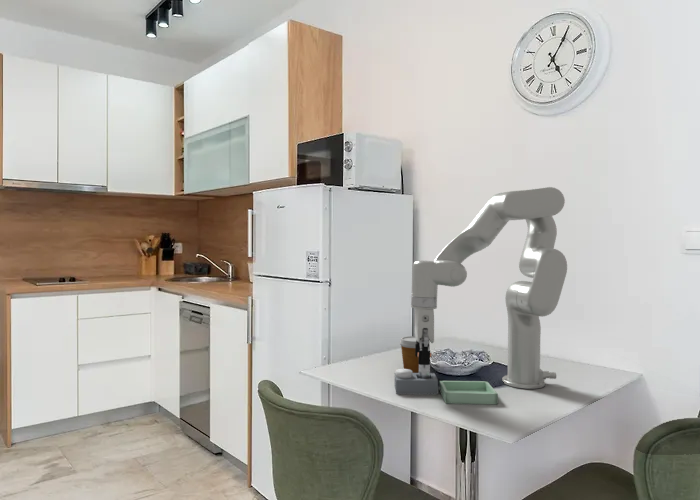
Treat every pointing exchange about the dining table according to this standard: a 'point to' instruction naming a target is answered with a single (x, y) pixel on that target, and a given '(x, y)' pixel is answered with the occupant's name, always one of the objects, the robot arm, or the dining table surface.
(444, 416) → the dining table surface
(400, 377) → the block
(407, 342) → the disposable coffee cup
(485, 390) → the tray
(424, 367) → the pin
